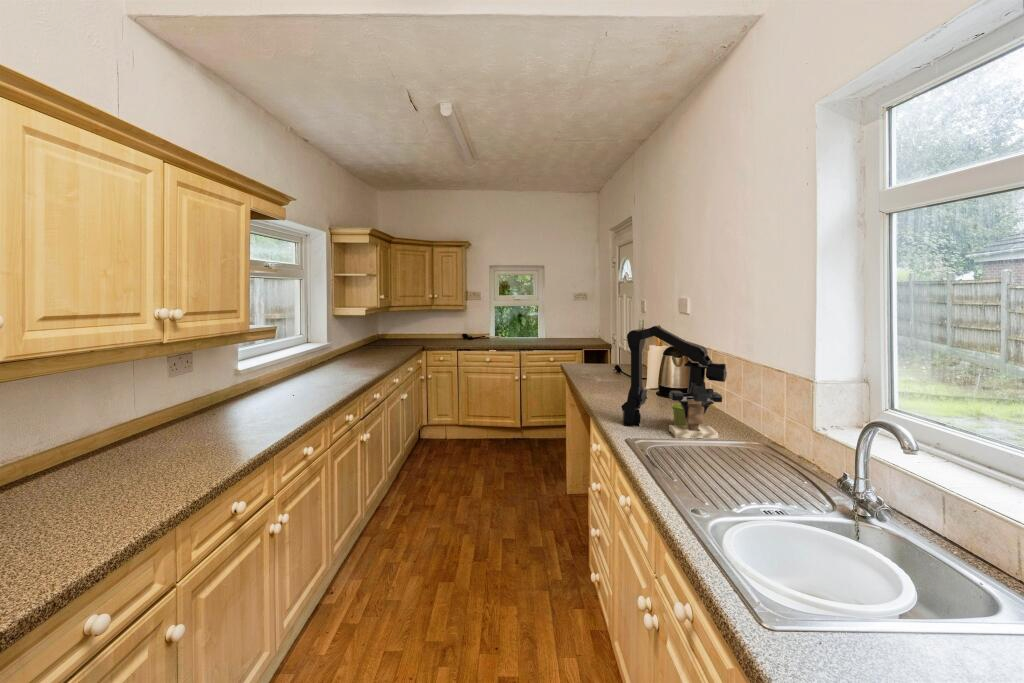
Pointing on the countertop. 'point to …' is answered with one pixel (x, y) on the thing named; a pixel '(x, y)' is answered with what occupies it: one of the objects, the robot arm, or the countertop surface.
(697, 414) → the walnut peg
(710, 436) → the birch board
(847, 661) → the countertop surface
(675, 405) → the plant pot
